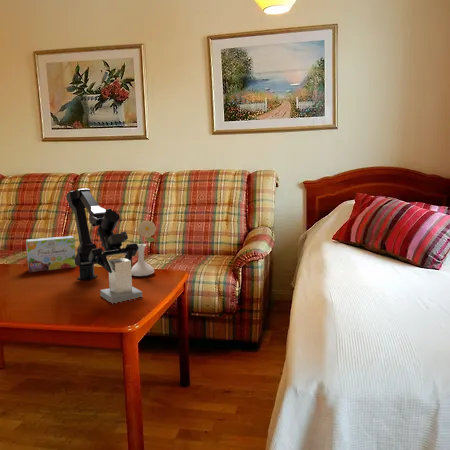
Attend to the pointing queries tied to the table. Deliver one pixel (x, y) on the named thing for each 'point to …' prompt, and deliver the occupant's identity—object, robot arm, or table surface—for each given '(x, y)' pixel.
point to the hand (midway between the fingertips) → (121, 270)
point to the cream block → (120, 276)
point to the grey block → (120, 295)
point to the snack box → (50, 253)
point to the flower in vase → (141, 266)
